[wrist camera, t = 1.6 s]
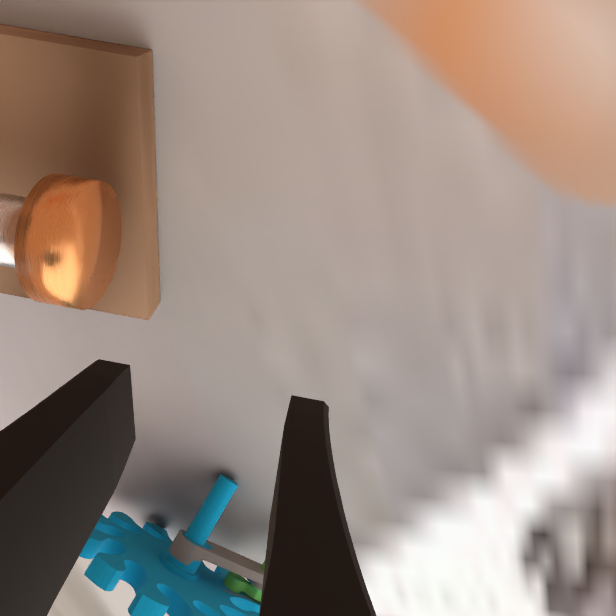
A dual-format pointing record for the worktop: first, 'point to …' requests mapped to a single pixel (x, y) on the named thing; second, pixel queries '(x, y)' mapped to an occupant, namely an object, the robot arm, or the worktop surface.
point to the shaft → (62, 239)
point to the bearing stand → (85, 143)
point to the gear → (175, 564)
